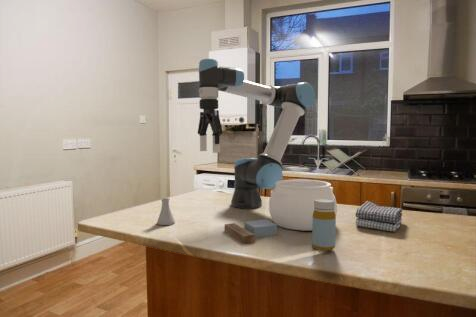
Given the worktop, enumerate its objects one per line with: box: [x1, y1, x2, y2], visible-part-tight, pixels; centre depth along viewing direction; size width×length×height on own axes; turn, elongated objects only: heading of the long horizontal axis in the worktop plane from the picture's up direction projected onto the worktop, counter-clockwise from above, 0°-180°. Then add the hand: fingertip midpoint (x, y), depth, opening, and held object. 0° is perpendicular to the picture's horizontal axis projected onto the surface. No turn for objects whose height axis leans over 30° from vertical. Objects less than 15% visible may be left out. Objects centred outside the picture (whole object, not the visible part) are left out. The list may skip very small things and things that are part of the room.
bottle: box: [311, 199, 337, 252], centre depth 104 cm, size 7×7×15 cm
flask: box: [156, 197, 176, 226], centre depth 133 cm, size 7×7×10 cm
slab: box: [243, 219, 278, 239], centre depth 120 cm, size 4×8×9 cm
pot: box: [268, 178, 338, 232], centre depth 133 cm, size 29×26×16 cm
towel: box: [355, 200, 403, 232], centre depth 132 cm, size 15×18×8 cm
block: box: [224, 222, 256, 244], centre depth 116 cm, size 4×16×2 cm, turn 26°
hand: (209, 151), depth 135 cm, fingers open, 13 cm apart
